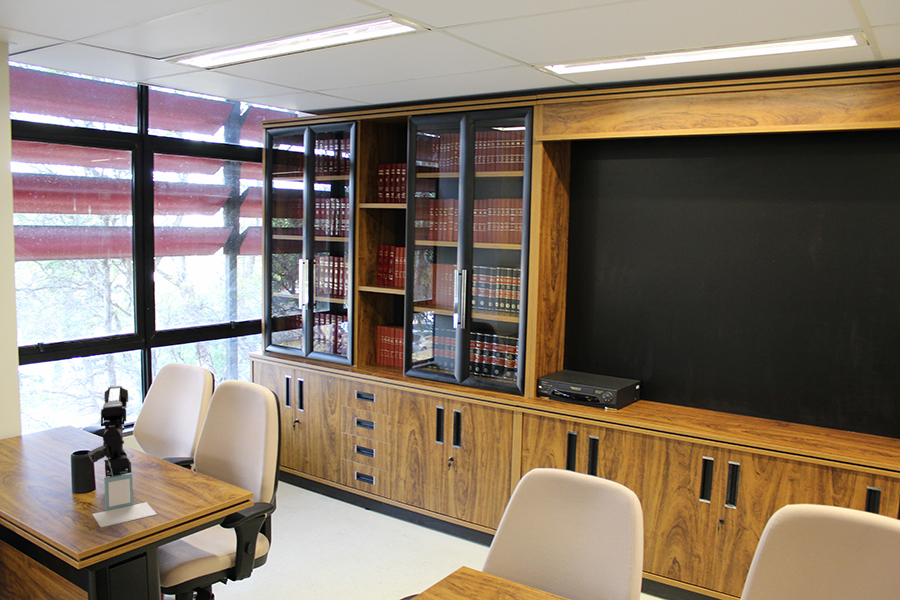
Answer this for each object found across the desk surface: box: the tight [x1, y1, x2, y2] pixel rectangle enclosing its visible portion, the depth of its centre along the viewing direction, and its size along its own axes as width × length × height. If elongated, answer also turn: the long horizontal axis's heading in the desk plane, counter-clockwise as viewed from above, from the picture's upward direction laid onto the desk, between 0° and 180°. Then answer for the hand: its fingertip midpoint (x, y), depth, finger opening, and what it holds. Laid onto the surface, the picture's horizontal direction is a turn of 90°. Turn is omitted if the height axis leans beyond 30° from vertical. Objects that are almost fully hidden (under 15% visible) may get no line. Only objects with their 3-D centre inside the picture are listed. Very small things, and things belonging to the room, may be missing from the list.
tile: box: [103, 472, 134, 511], centre depth 242 cm, size 2×9×12 cm, turn 128°
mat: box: [92, 501, 158, 528], centre depth 236 cm, size 14×18×1 cm
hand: (115, 479), depth 246 cm, fingers closed
